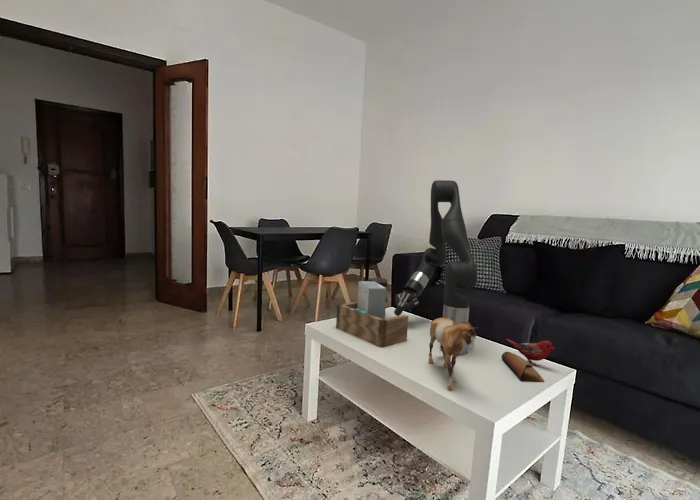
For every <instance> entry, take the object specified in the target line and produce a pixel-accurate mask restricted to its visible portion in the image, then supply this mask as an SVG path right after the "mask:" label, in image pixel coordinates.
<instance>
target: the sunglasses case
mask: <svg viewBox="0 0 700 500" xmlns="http://www.w3.org/2000/svg"><path fill="white" fill-rule="evenodd" d="M501 359H502V361H503V362H504V363H506V364H507V365H508V367H510V369H511V370H512V371H513V372H514V374H515V375H516V376H517V378H519V379H520V380H521V382H524V383H525V382H527V383H528V382H529V383H544V382H545V383H546V381H545V380H544V378H543V376H541V375H540V373H539V372H538V370H536V369H535V368H534V367H533V364H530V363H529V362H528V361H529V360H527V359H524V358H523V357H522V356H519V355H517V354H516V353H513V352H510V351H504V352H503V353H502V355H501Z"/></svg>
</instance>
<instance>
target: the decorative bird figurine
mask: <svg viewBox="0 0 700 500" xmlns="http://www.w3.org/2000/svg"><path fill="white" fill-rule="evenodd" d="M505 340H506V341H507V342H508V343H510V344H511V345H513V347H515V348H516V350H517V351H518V352H519V354H521V355H522V356H524V357H525V358H526V360H527V361H528V362H529V363H530V364H531V365H532V366H538V367H540V364H537V363H536V362H535V361H537V362H538V361H543V360H544V359H546V358H547V357H548V355H549V354H550V353H551V351H552V350H555V347H554V346H553V343H552V342H551V341H550V340H541V341H539V342H535V343H534V342H533V343H532V342H523V343H517V342H515V341H512V340H510V339H508V338H505ZM533 361H534V362H533Z"/></svg>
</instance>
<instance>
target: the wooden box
mask: <svg viewBox="0 0 700 500" xmlns="http://www.w3.org/2000/svg"><path fill="white" fill-rule="evenodd" d="M357 302H358V300H357V301H352V302H345V303H339V304H337V305H336V318H335V319H336V321H335V323H336V324H335V328H336V329H338V330H340V331H342V332H344V333H346V334H347V333H348V334H350V335H352V336H354V337H356V338H359V339H361V340H363V341H365V342H368V343H370V344H373V345H375V346H377V347H379V348H385V347H389V346H393V345H396V344H401V343H403V342H407V341H408V340H407V339H408V329H409V328H408V327H409V326H408V325H409V315H407V314H402V315H399V316H396V315H395V316H392V317H387V318H386V317H385V318H384V319H381V318H379V317H376V316H373V315H370V314H368V312H366V311H363V310H360V309H358V308H357Z"/></svg>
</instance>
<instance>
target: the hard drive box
mask: <svg viewBox="0 0 700 500" xmlns="http://www.w3.org/2000/svg"><path fill="white" fill-rule="evenodd" d="M357 286H358V289H357V290H358V291H357V301H358V302H357V301H356V302H357V308H358V309H360V310H363V311H366V312H368V314H370V315H373V316H376V317H379V318H381V319H386V300H387V290H386V288H385V287H383V286H382V285H380V284H378V283H376V282H374V281H367V280H364V281H363V280H359V281H358V285H357Z"/></svg>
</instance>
